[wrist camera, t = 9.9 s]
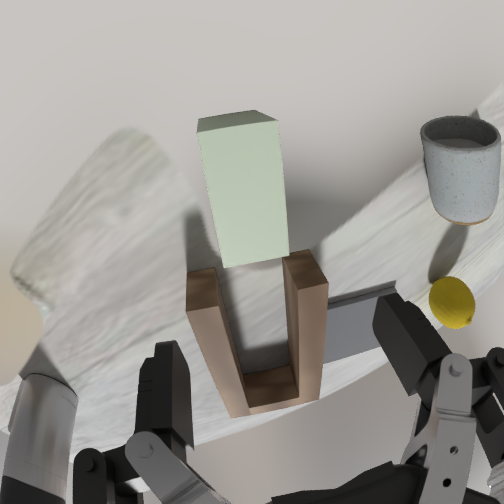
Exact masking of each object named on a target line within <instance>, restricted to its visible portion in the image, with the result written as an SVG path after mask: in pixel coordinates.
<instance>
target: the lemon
mask: <svg viewBox="0 0 504 504" xmlns="http://www.w3.org/2000/svg"><path fill="white" fill-rule="evenodd" d="M429 305H430V308H431V311H432V313H433V314H434V316H435V317H436V318H437V319H438V320H439V321H440V322H441V323H442V324H443V325H445V326H446V327H449V328H452V329H457V328H461V327H464V326H465V325H469V324H470V323H471V319H472V317H473V315H474V312H475V300H474V297H473V294H472V292H471V291H470V289H469V288H468V287H467V285H466V284H465V283H464V282H463V281H461V280H460V279H458V278H455V277H451V276H447V277H443V278H441V279H439V280H437V281H434V282H433V286H432V288H431V290H430V293H429Z"/></svg>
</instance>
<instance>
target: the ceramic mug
mask: <svg viewBox="0 0 504 504" xmlns="http://www.w3.org/2000/svg"><path fill="white" fill-rule="evenodd" d="M420 134H421V140H422V144H423V149H424V157H425V162H426V168H427V174H428V183H429V192H430V196H431V200H432V203H433V206H434V208H435V210H436V211H437V212H438V214H439V215H441V216H442V217H443V218H445V219H446V220H448V221H450V222H453V223H455V224H460V225H476V224H479V223H482V222H484V221H486V220H487V219H488V218H489V217H490V216H491V215H492V213H493V211H494V209H495V206H496V203H497V198H498V192H499V176H500V162H501V136H500V133H499V131H498V130H497V129H496V128H495V127H494V126H493V125H491V124H490V123H488V122H486V121H484V120H481V119H477V118H473V117H467V116H446V117H441V118H436V119H433V120H431V121H429V122H427V123H426V124H424V125H423V126H422V128H421V132H420Z"/></svg>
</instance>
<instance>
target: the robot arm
mask: <svg viewBox="0 0 504 504" xmlns="http://www.w3.org/2000/svg"><path fill="white" fill-rule="evenodd" d="M372 327H373V332H374V335H375V337H376V339H377V340H378V342H379V344H380V345H381V347H382V349H383V351H384V352H385V354H386V356H387V358H388V359H389V361H390V363H391V365H392V367H393V368H394V370H395V372H396V374H397V375H398V377H399V379H400V381H401V383H402V385H403V387H404V388H405V390H406V392H407V394H408V396H411V395H413V394H415V393H418V394H419V396H420V398H419V401H418V405H417V410H416V416H415V420H414V424H413V429H412V433H411V437H410V440H409V443H408V445H407V446H406V448H405V450H404V453H403V455H402V459H401V462H400V464H397V465H393V463H392V461H389V462H387V463H385V464H382V465H380V466H377V467H375V468H372V469H370V470H367V471H365V472H363V473H361V474H360V475H358V476H357V477H355V478H354V479H352V480H351V481H349V482H347V483H345V484H344V485H342V486H340V487H338V488H336V489H327V490H310V491H309V490H308V491H299V492H295V493H290V494H286V495H281V496H276V497H272V498H271V499H272V501H271V502H268V503H266V504H504V415H503V413H502V411H501V409H500V407H499V405H498V404H497V402H496V400H495V398H494V396H493V393H495V395H496V397H497V398H498V400H499V402H500V404H501V406H502V408H503V410H504V349H503V348H500V347H495V348H492V349H491V350H490V351H489V352H488V354H487V356H486V357H483V358H476V359H470V360H468V359H467V358H466V357H465V356H463V355H461V354H457V353H452V352H451V351H450V349H449V348H448V346H447V345H446V343H445V342H444V341H443V340H442V338H441V336H440V335H439V334H438V332H437V331H436V330H435V328H434V327H433V326H431V323H430V322H429V320H428V319H427V318H426V316H425V315H424V314H423V312H422V311H421V310H420V308H419V307H417V306H416V305H414V304H413V303H411V302H410V301H406V302H404V300H403V299H402V298H401V296H400V295H399V294H398V293H397V292H392V293H389V294H386V295H382V296H379V297H378V299H377V303H376V308H375V312H374V317H373V322H372ZM77 405H78V398H77V396H76V395H75V394H74V392H72V391H71V390H70V389H69V388H68V387H66V386H65V385H63V384H62V383H60V382H58V381H56V380H54V379H52V378H49V377H47V376H43V375H38V374H31V375H29V376H27V378H26V380H22V381H21V384H20V387H19V390H18V393H17V397H16V400H15V403H14V407H13V410H12V414H11V417H10V421H9V425H8V430H9V432H10V437H9V442H8V446H7V452H6V458H5V463H4V469H3V476H2V484H1V492H0V504H65V503H66V502H65V500H66V486H67V473H68V464H69V455H70V447H71V440H72V434H73V427H74V422H75V416H76V411H77ZM475 433H477V435H478V437H479V440H480V442H481V444H482V447H483V449H484V451H485V454H486V456H487V458H488V460H489V463H490V466H491V468H492V471H491V474H490V477H489V478H488V480H487V485H488V486H489V487H491V492H490V495H486V494H483V493H480V492H477V491H475V490H472V489H469V488H467V487H466V486H467V481H468V477H469V472H470V466H471V461H472V455H473V448H474V441H475ZM186 451H194V440H193V424H192V406H191V383H190V372H189V367H188V364H187V362H186V360H185V358H184V356H183V354H182V352H181V350H180V347H179V345H178V343H177V342H176V340H173V341H166V342H159V343H156V345H155V353H154V357H151V358H146V359H145V361H144V363H143V365H142V367H141V368H140V374H139V384H138V395H137V407H136V422H135V431H134V434H133V435H132V436H131V437H130V438H129V439H128V441H127V443H126V444H125V445H123V446H121V447H118V448H115V449H112V450H109V451H105V452H102V453H101V452H99V451H98V450H96V449H93V448H86V449H83V450H81V451H80V452H79V453H78V454H77V455H76V457H75V459H74V465H73V504H144V501H143V492H144V491H148V490H151V491H152V492H153V493H154V494H155V495H156V496H157V498H158V499H159V500H160V501H161V502H162V504H232V503H231V502H230V501H228V500H227V499H226V498H225V497H223V496H222V495H221V494H220V493H218V492H217V491H216V490H215V489H214V488H213V487H212V486H211V485H209V484H208V483H207V482H206V481H205V480H204V479H203V478H202V477H201V476H200V475H199V474H198V473H197V472H196V471H195V470H194V469H193V468H192V467H191V466H190V465H189V464H188V463H187V461H186Z"/></svg>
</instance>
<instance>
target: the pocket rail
mask: <svg viewBox="0 0 504 504" xmlns="http://www.w3.org/2000/svg"><path fill="white" fill-rule="evenodd" d="M282 263H283V276H284V289H285V302H286V317H287V332H288V348H289V365H288V366H284V367H280V368H275V369H271V370H266V371H261V372H256V373H251V374H246V375H243V373H242V370H241V366H240V363H239V359H238V356H237V352H236V348H235V345H234V341H233V337H232V334H231V330H230V326H229V322H228V319H227V315H226V311H225V307H224V303H223V299H222V295H221V291H220V287H219V283H218V279H217V275H216V271H215V268H210V269H205V270H200V271H194V272H189V273H187V284H186V314H187V316H188V319H189V322H190V324H191V327H192V329H193V332H194V334H195V337H196V340H197V342H198V344H199V347H200V349H201V352H202V354H203V357H204V359H205V361H206V364H207V366H208V369H209V371H210V373H211V376H212V378H213V380H214V382H215V385H216V387H217V389H218V391H219V394H220V396H221V398H222V400H223V402H224V405H225V407H226V409H227V411H228V413H229V415H230V417H231V418H237V417H243V416H248V415H254V414H259V413H264V412H269V411H274V410H278V409H283V408H287V407H291V406H296V405H300V404H304V403H307V402H311V401H315V400H319V394H320V386H321V377H322V368H323V357H324V346H325V334H326V321H327V306H328V287H329V283H328V281H327V279H326V277H325V276H324V274H323V272H322V271H321V269H320V267H319V266H318V264H317V262H316V261H315V259H314V257H313V255H312V254H311V252H310V250H309V249H307V250H302V251H297V252H292V253H289V256H284V257H282Z"/></svg>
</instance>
